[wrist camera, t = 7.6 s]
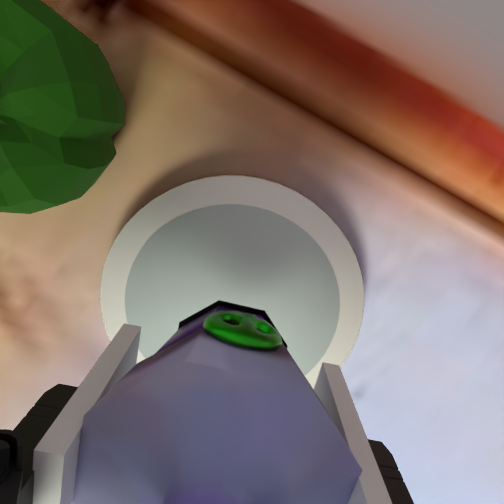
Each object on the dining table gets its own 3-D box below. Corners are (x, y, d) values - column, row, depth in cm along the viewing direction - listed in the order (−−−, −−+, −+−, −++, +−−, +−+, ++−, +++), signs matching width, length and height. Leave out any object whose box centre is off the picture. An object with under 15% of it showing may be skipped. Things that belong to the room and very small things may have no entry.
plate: (96, 382, 24) (88, 395, 23) (122, 146, 20) (114, 146, 19) (319, 423, 26) (323, 437, 24) (393, 207, 21) (402, 211, 20)
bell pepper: (12, -1, 18) (-262, -166, 8) (166, 70, 19) (80, -4, 9) (-20, 157, 20) (-264, 170, 11) (119, 214, 21) (11, 272, 12)
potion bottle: (310, 256, 16) (476, 578, 4) (326, 415, 18) (458, 895, 7) (117, 282, 16) (-231, 647, 4) (160, 435, 18) (9, 922, 7)
